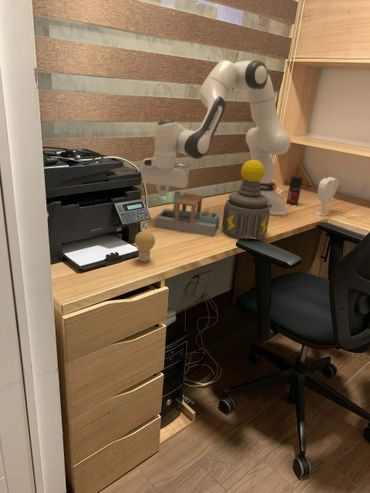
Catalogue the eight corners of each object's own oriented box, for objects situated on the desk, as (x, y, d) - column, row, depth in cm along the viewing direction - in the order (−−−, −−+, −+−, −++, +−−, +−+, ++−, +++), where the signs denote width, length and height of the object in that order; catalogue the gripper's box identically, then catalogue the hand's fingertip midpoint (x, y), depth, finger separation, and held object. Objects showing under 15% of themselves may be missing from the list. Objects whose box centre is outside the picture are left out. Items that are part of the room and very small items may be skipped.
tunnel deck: (218, 225, 163) (222, 198, 159) (213, 236, 150) (217, 207, 146) (164, 217, 168) (166, 190, 163) (154, 226, 155) (156, 198, 150)
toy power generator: (275, 235, 158) (288, 162, 146) (248, 244, 145) (260, 166, 134) (239, 222, 170) (249, 154, 158) (211, 230, 157) (220, 157, 146)
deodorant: (299, 204, 206) (304, 177, 200) (294, 206, 201) (299, 178, 196) (289, 202, 209) (294, 175, 203) (284, 203, 205) (289, 176, 199)
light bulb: (140, 265, 121) (141, 236, 117) (130, 258, 125) (131, 230, 122) (157, 262, 124) (159, 233, 120) (147, 254, 129) (148, 227, 125)
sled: (217, 218, 158) (220, 195, 155) (215, 223, 152) (218, 199, 148) (175, 211, 162) (176, 189, 158) (171, 216, 156) (172, 193, 152)
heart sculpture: (320, 217, 187) (328, 181, 180) (310, 214, 190) (318, 179, 184) (332, 211, 198) (341, 177, 191) (323, 209, 201) (331, 175, 194)
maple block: (212, 219, 158) (213, 210, 156) (210, 222, 154) (211, 212, 152) (203, 217, 158) (203, 208, 157) (201, 220, 155) (202, 211, 153)
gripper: (191, 164, 152) (188, 197, 158) (143, 158, 156) (142, 190, 161) (188, 166, 147) (185, 201, 152) (138, 160, 150) (137, 194, 156)
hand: (162, 195), depth 157 cm, fingers closed
